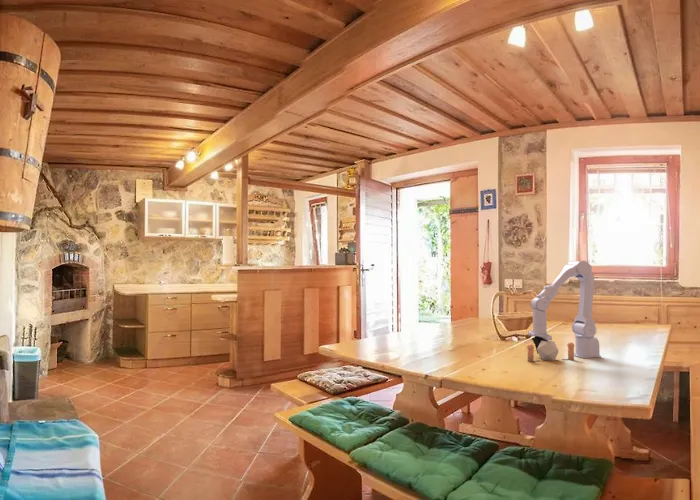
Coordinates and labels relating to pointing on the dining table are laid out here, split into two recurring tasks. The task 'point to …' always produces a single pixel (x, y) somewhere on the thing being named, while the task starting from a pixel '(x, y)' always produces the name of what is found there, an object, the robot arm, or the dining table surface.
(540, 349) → the die
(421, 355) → the dining table surface
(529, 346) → the pair of orange pieces
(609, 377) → the dining table surface
